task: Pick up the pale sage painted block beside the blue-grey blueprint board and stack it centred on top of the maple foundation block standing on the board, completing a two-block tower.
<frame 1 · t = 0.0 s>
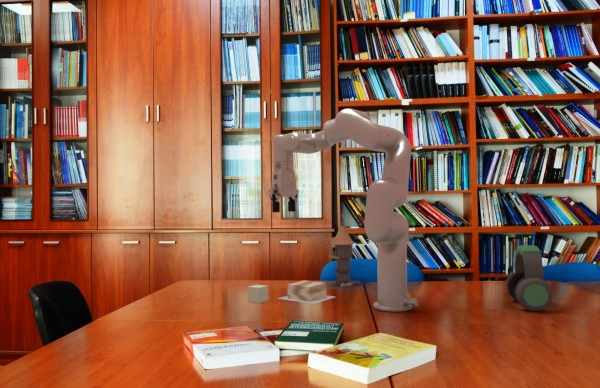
hand: (284, 211, 192), 31 cm above the table, fingers open, 9 cm apart
model tower: (342, 285, 208), on the table
headphones: (528, 306, 165), on the table
foundation block: (307, 297, 179), point 1 cm above the table, touching blueprint board
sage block: (258, 303, 175), on the table
blueprint board: (307, 299, 179), on the table
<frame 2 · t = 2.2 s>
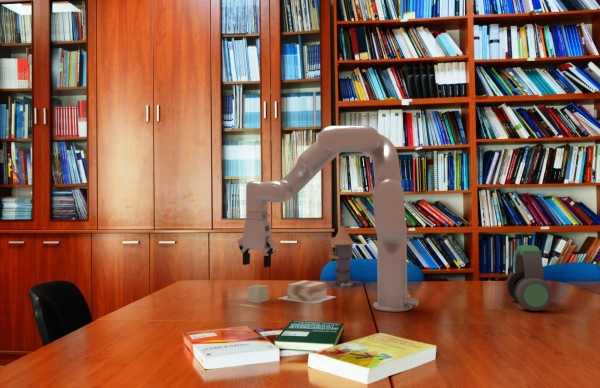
hand: (256, 265, 175), 13 cm above the table, fingers open, 9 cm apart
nothing on the table moved.
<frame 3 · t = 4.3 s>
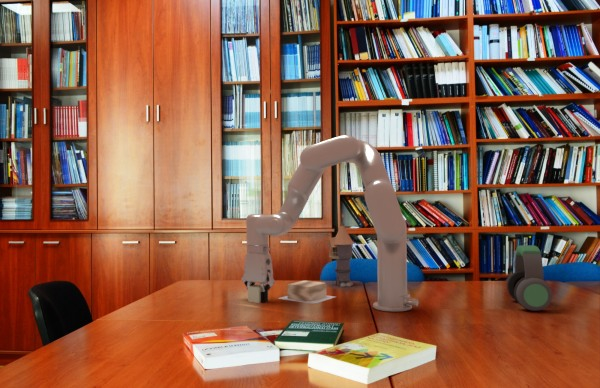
hand: (258, 301, 175), 1 cm above the table, fingers closed on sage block, 5 cm apart
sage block: (258, 303, 175), on the table, touching gripper
everything else where it was.
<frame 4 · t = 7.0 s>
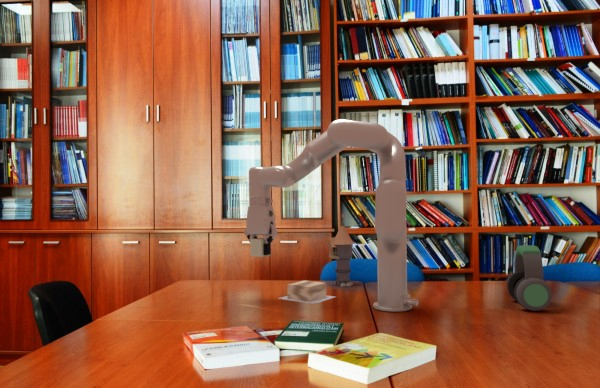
hand: (260, 253, 175), 17 cm above the table, fingers closed on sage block, 5 cm apart
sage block: (260, 255, 175), point 16 cm above the table, touching gripper
everything else where it was.
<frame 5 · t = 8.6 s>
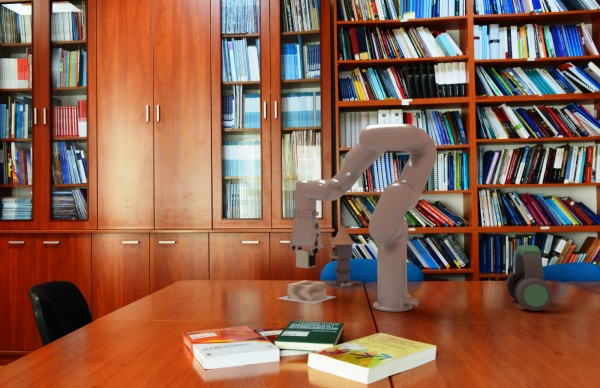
hand: (305, 264, 180), 12 cm above the table, fingers closed on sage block, 5 cm apart
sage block: (305, 266, 180), point 12 cm above the table, touching gripper
everything else where it was.
when the fingers open (8 cm above the table, at t = 9.9 s): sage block drops 1 cm, resting on foundation block.
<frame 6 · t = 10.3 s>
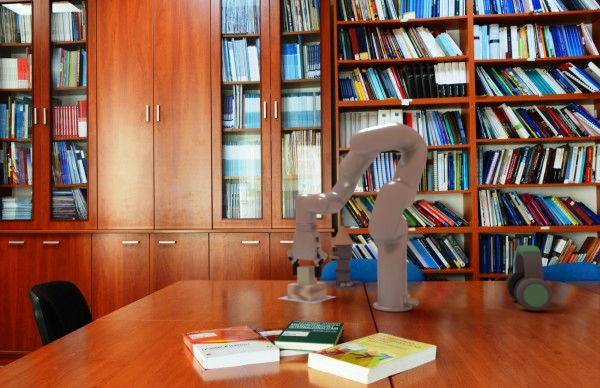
hand: (306, 276, 179), 8 cm above the table, fingers open, 9 cm apart
foundation block: (307, 297, 179), point 1 cm above the table, touching blueprint board, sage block
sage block: (307, 283, 179), point 6 cm above the table, touching foundation block
everything else where it was.
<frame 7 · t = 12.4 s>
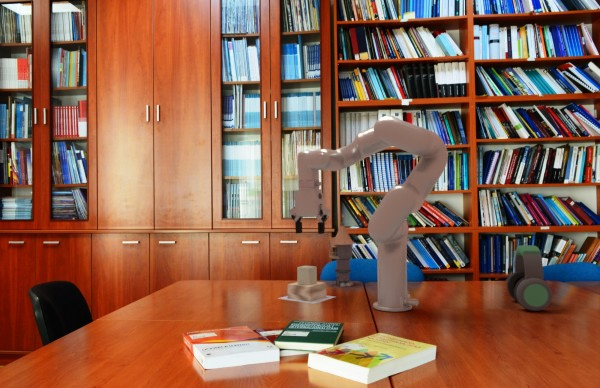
hand: (310, 233, 180), 24 cm above the table, fingers open, 9 cm apart
nothing on the table moved.
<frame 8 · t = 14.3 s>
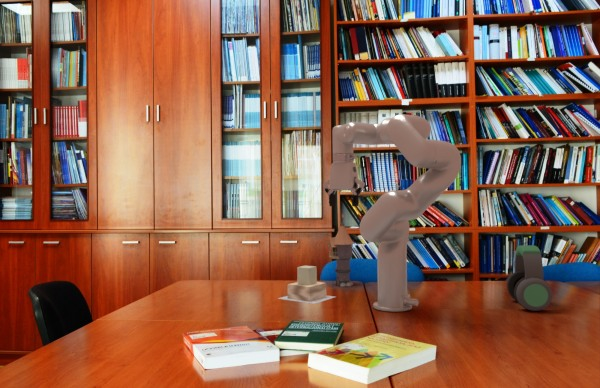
hand: (343, 206, 183), 33 cm above the table, fingers open, 9 cm apart
nothing on the table moved.
at the end: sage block 0.1 cm off-centre on the foundation block, point 5.0 cm above the foundation block's base; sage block tilted 0°; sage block touching foundation block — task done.
